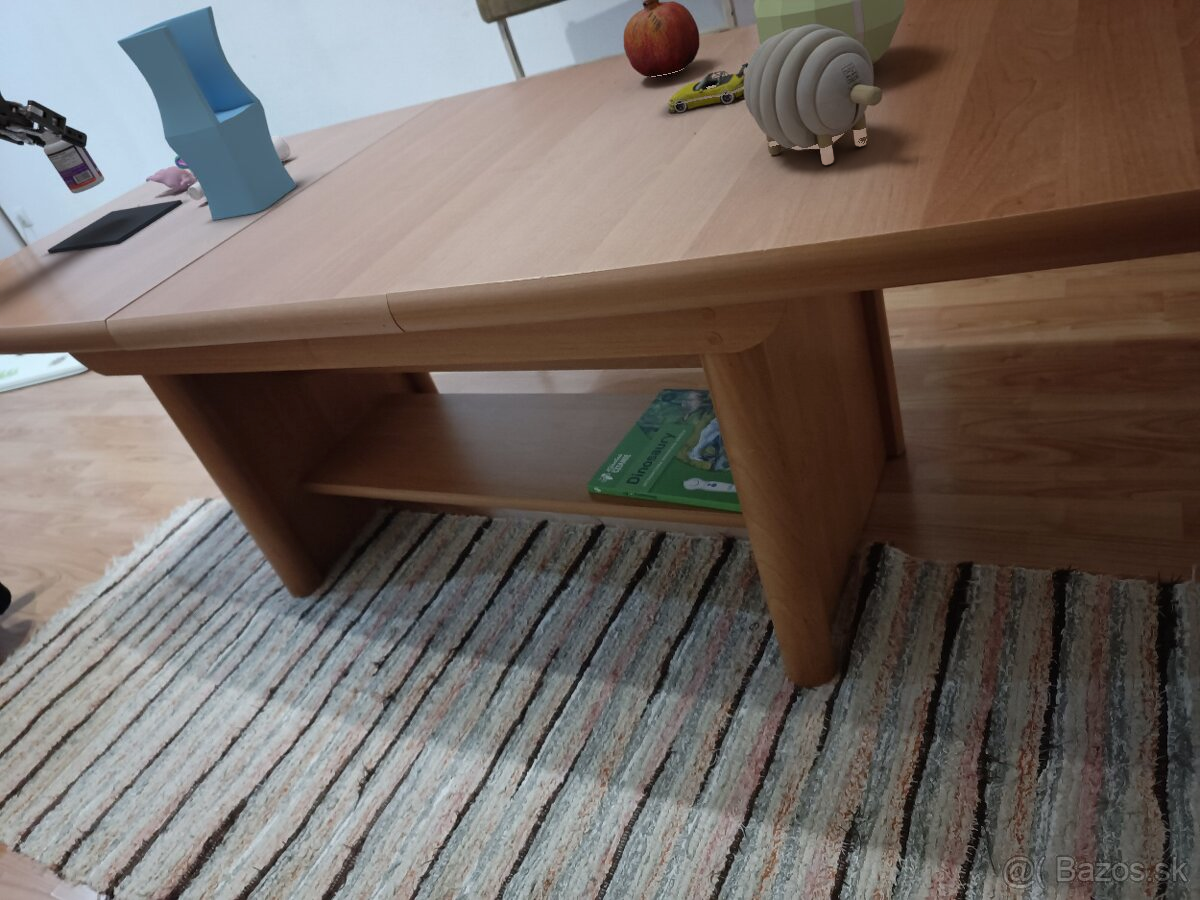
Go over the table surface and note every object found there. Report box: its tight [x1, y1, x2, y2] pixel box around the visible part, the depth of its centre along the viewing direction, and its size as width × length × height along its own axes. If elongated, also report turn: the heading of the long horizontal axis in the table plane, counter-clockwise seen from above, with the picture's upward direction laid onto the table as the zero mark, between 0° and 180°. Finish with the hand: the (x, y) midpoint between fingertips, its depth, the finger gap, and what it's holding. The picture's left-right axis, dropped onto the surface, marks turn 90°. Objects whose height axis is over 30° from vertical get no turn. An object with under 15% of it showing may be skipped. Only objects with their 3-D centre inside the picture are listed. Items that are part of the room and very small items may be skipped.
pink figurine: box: [145, 155, 197, 191], centre depth 148 cm, size 6×6×15 cm
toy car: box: [667, 62, 749, 114], centre depth 103 cm, size 5×10×3 cm, turn 71°
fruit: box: [622, 0, 700, 79], centre depth 115 cm, size 11×10×10 cm
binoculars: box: [187, 134, 291, 201], centre depth 140 cm, size 10×16×5 cm, turn 163°
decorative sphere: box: [753, 0, 906, 65], centre depth 93 cm, size 15×15×15 cm
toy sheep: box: [740, 24, 883, 156], centre depth 79 cm, size 11×17×11 cm, turn 35°
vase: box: [116, 5, 298, 221], centre depth 122 cm, size 10×10×25 cm
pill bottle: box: [40, 124, 105, 194], centre depth 135 cm, size 5×5×10 cm
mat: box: [46, 199, 183, 254], centre depth 142 cm, size 18×14×1 cm
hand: (73, 144), depth 135 cm, fingers closed on pill bottle, 5 cm apart
